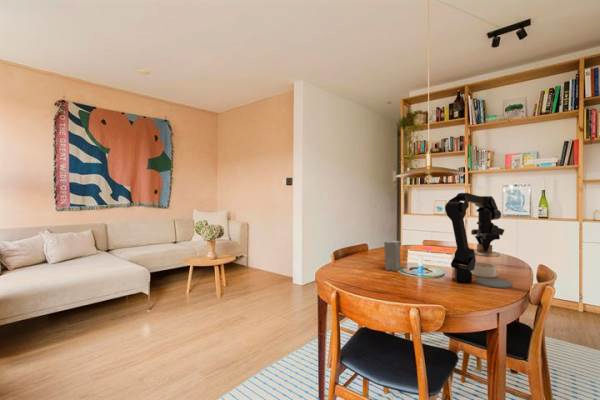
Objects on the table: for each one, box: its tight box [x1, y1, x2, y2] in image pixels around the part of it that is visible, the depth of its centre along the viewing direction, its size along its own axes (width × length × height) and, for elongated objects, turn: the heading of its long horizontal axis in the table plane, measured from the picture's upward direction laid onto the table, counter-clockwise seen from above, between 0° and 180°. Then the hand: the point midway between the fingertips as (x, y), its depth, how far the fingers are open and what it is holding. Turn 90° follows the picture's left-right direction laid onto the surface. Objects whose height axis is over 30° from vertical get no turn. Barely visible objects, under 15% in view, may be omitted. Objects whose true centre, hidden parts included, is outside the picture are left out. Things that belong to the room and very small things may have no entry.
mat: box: [474, 276, 513, 289], centre depth 141 cm, size 15×15×1 cm
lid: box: [473, 243, 501, 258], centre depth 154 cm, size 13×13×5 cm
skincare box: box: [383, 240, 402, 272], centre depth 169 cm, size 8×7×16 cm
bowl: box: [471, 261, 498, 278], centre depth 156 cm, size 11×11×5 cm
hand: (484, 250), depth 154 cm, fingers closed on lid, 3 cm apart
